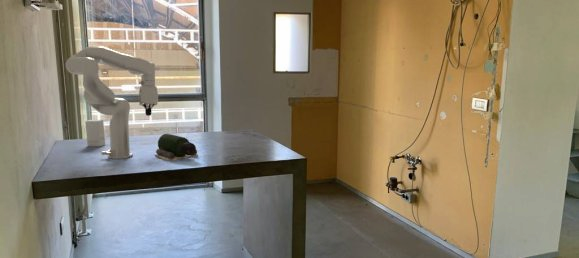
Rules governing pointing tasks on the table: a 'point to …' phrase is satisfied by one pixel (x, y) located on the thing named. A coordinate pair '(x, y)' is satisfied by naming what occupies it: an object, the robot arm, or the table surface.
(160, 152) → the cradle
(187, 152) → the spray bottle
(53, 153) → the table surface
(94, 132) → the skincare box
